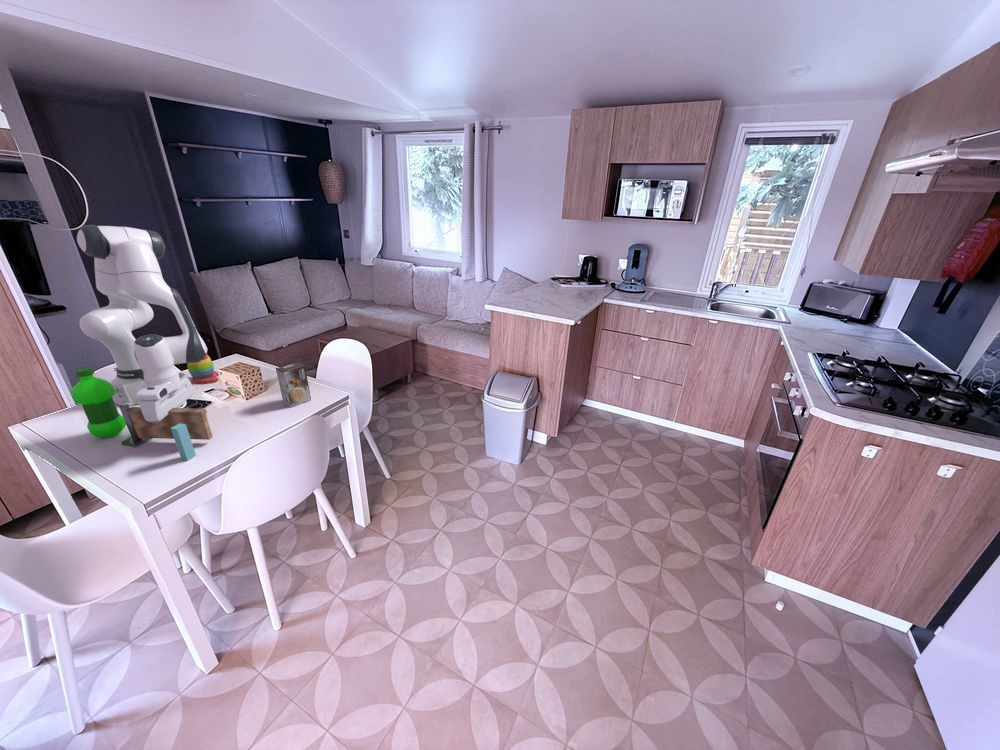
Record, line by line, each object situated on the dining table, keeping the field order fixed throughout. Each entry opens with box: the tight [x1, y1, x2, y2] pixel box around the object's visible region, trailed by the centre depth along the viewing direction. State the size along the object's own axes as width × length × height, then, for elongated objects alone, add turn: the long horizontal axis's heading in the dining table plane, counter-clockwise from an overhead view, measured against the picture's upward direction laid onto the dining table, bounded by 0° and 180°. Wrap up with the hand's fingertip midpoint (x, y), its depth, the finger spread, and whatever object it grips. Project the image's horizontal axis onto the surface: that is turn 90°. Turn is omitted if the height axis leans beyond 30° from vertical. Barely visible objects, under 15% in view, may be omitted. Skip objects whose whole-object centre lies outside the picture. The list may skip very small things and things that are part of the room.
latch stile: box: [171, 423, 197, 462], centre depth 128 cm, size 2×3×12 cm
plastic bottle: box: [70, 366, 127, 439], centre depth 135 cm, size 10×10×25 cm
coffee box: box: [275, 361, 312, 408], centre depth 164 cm, size 9×6×16 cm
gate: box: [126, 406, 213, 441], centre depth 135 cm, size 24×2×11 cm, turn 92°
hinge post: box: [118, 404, 154, 448], centre depth 135 cm, size 6×6×14 cm
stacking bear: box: [186, 347, 220, 385], centre depth 178 cm, size 11×10×18 cm
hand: (176, 419), depth 138 cm, fingers closed
